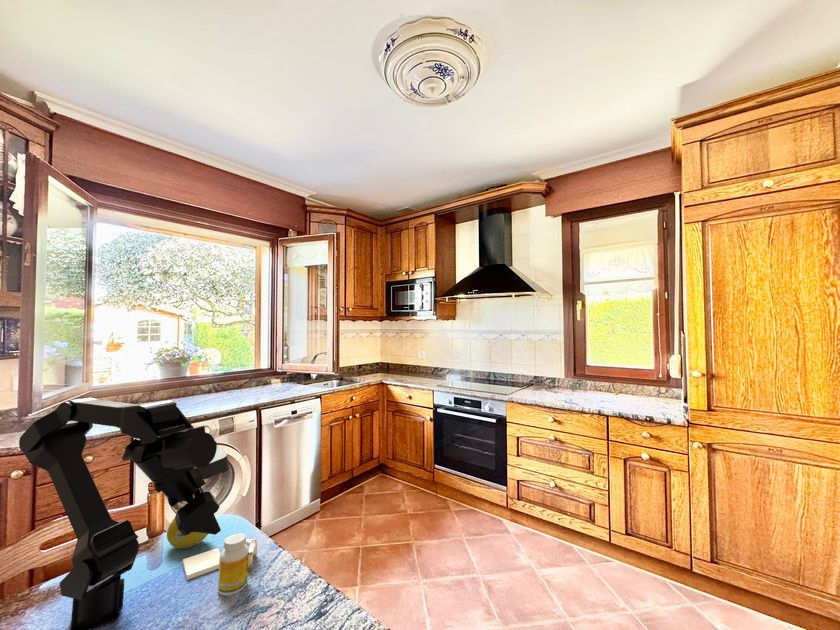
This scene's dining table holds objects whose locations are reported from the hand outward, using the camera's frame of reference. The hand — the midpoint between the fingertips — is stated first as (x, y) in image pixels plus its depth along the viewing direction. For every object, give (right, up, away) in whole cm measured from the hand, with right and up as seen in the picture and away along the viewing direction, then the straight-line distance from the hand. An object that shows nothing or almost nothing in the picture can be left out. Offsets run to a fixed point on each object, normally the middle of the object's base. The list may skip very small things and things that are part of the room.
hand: (212, 519), depth 70 cm
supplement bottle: (+4, -15, +1) cm, 15 cm away
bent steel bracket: (+2, -15, +9) cm, 18 cm away
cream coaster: (-7, -15, +7) cm, 18 cm away
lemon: (-15, -16, +15) cm, 26 cm away
